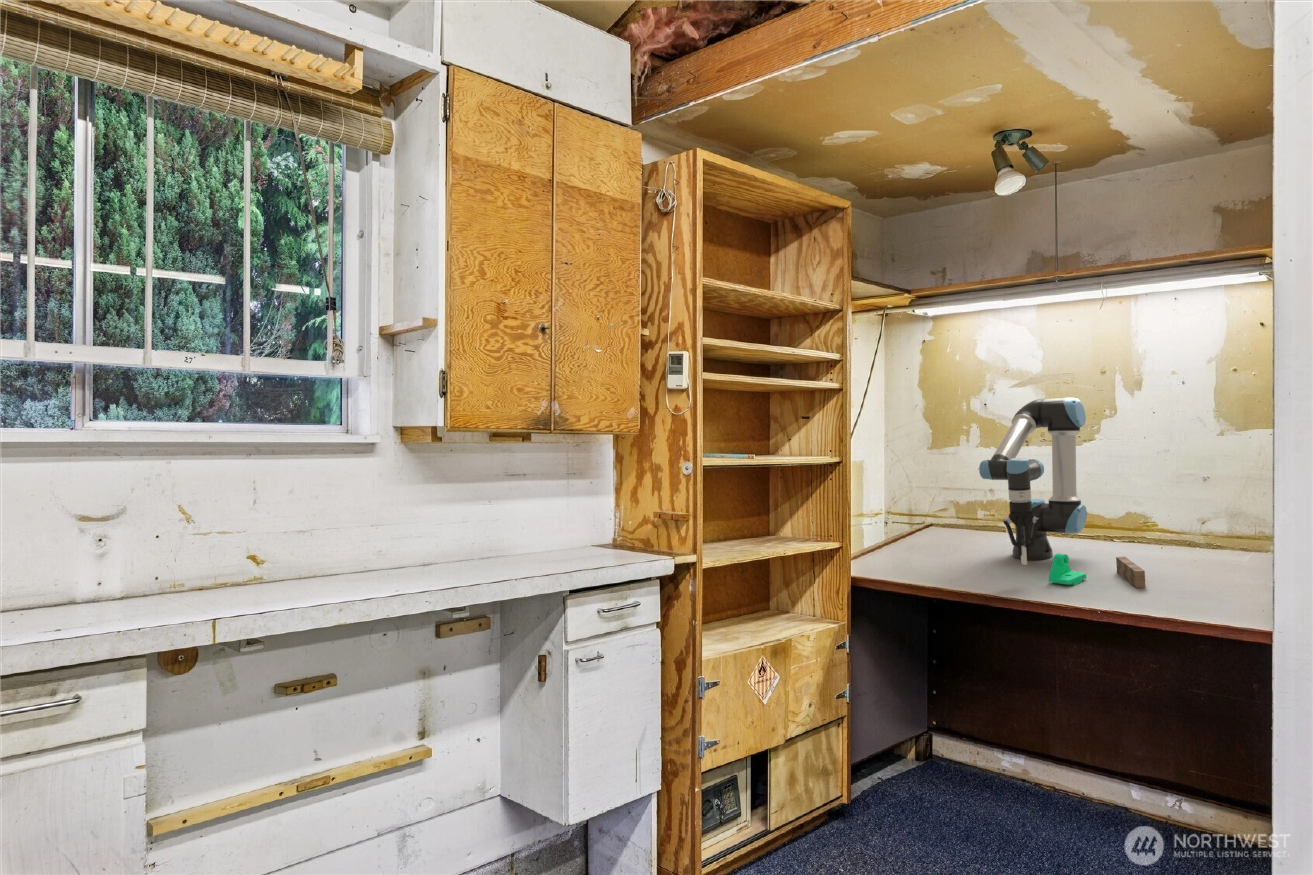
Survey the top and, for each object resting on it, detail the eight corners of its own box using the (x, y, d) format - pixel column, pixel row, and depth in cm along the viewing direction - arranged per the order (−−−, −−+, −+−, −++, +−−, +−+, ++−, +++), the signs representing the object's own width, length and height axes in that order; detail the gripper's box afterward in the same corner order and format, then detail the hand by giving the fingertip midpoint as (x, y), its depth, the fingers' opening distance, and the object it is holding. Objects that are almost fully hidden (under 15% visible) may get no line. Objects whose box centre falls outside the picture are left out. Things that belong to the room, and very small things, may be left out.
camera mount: (1069, 587, 298) (1067, 559, 297) (1049, 584, 304) (1047, 556, 303) (1087, 580, 304) (1085, 552, 303) (1067, 576, 310) (1065, 550, 310)
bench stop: (1117, 572, 308) (1116, 557, 308) (1125, 572, 308) (1124, 556, 307) (1136, 588, 289) (1135, 571, 288) (1145, 587, 288) (1144, 570, 288)
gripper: (1003, 503, 302) (1007, 567, 304) (1041, 501, 299) (1045, 565, 301) (999, 500, 309) (1003, 562, 311) (1036, 497, 306) (1040, 560, 308)
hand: (1024, 563), depth 306 cm, fingers closed
